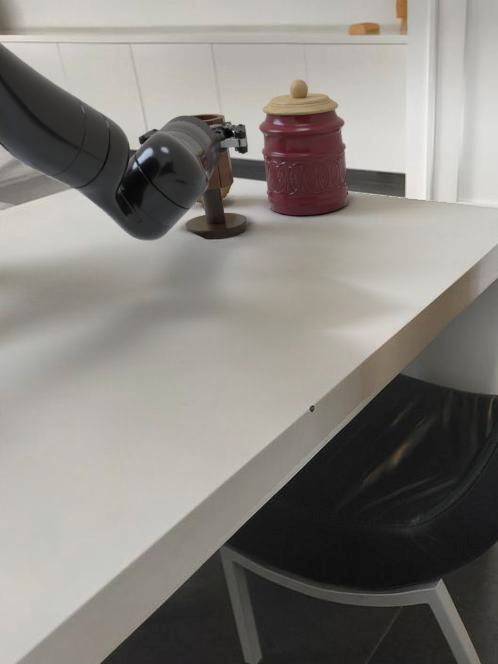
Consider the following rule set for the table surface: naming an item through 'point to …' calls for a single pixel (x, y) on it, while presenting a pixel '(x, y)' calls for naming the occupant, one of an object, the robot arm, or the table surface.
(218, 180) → the wooden slatted cup
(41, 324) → the table surface
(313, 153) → the kitchen canister
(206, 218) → the round-topped peg stand
